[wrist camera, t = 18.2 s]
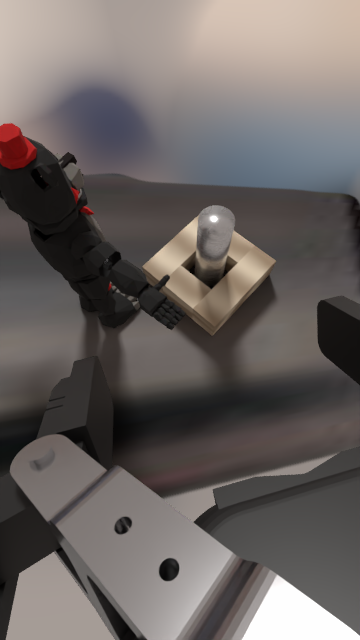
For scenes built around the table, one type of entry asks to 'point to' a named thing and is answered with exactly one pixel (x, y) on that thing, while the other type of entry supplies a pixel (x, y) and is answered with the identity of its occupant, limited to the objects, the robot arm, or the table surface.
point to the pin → (213, 244)
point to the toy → (74, 232)
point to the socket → (194, 295)
